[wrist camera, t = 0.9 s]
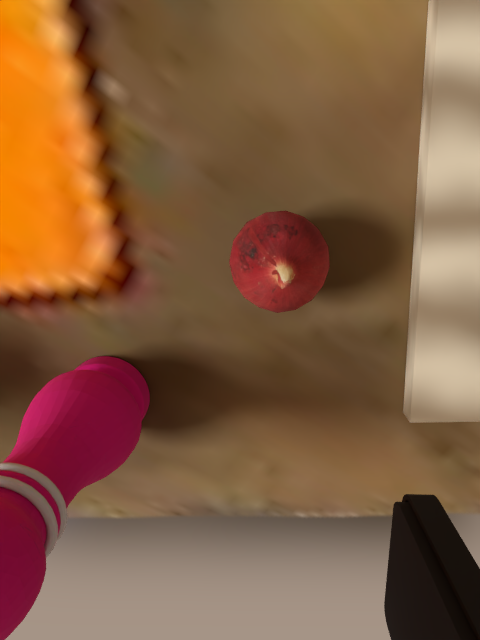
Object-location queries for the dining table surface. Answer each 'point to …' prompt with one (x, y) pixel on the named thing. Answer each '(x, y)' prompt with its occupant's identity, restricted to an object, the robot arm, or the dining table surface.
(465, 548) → the robot arm
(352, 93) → the dining table surface
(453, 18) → the gear board
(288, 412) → the dining table surface
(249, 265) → the onion
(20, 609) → the pepper mill
